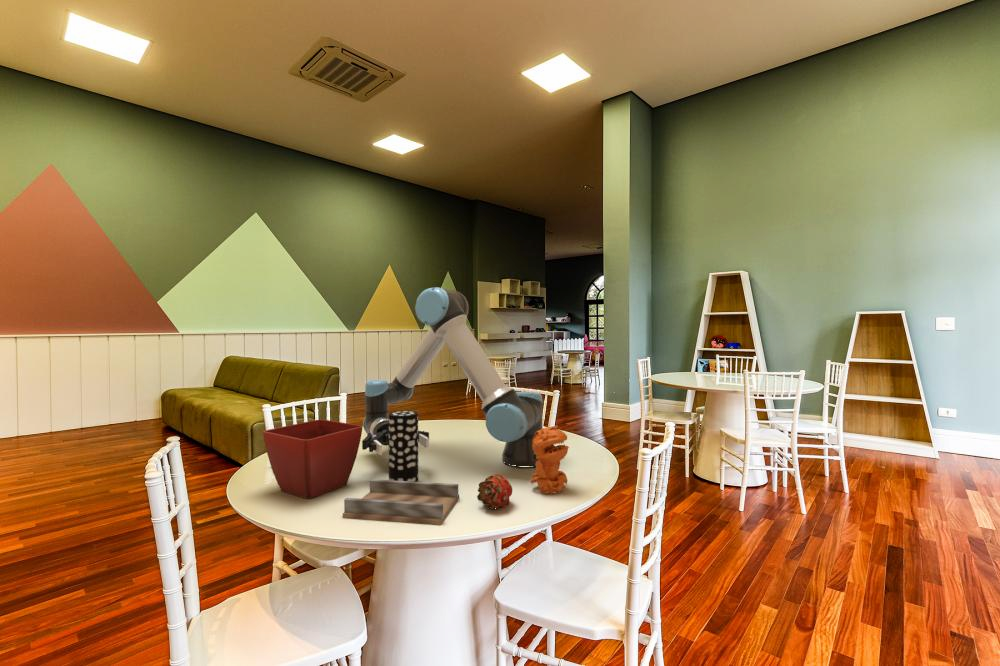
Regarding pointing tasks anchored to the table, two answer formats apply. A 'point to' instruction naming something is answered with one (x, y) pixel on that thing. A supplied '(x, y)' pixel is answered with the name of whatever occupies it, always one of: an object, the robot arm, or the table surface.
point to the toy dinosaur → (549, 459)
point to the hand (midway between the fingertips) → (405, 446)
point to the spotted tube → (403, 446)
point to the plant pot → (312, 455)
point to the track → (404, 502)
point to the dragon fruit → (495, 491)
